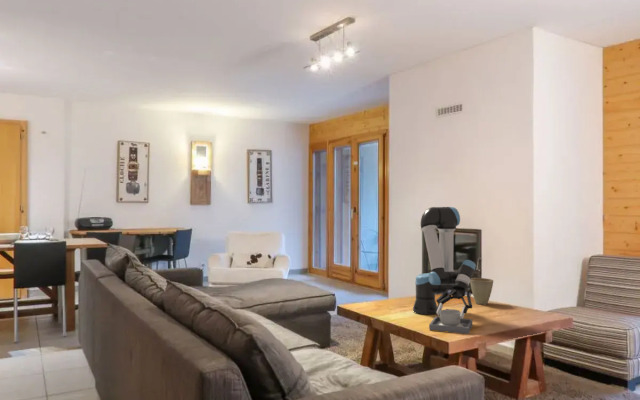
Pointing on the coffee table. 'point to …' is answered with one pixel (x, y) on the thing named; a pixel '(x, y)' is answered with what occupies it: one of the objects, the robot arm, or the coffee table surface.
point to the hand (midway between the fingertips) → (449, 315)
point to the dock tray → (460, 328)
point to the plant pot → (481, 289)
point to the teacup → (450, 317)
